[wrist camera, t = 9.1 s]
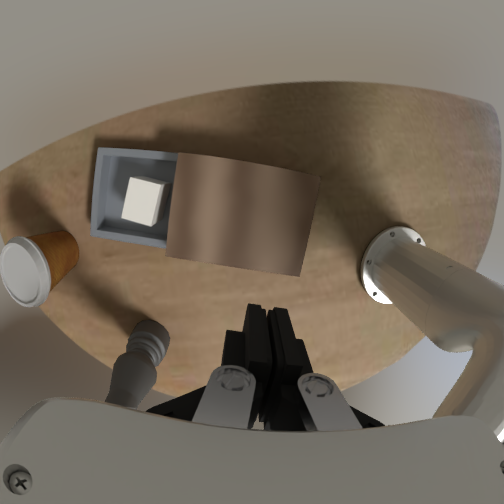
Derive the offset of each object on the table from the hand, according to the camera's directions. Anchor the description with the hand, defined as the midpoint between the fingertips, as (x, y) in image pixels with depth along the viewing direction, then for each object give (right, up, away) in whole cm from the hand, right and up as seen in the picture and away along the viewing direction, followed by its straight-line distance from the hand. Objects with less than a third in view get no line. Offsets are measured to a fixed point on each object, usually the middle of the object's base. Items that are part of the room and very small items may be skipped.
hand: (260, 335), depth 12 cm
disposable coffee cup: (-30, +4, +25) cm, 39 cm away
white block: (-11, +10, +21) cm, 26 cm away
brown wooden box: (-2, +9, +25) cm, 26 cm away
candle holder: (-16, -10, +30) cm, 35 cm away
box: (-16, +11, +23) cm, 30 cm away
